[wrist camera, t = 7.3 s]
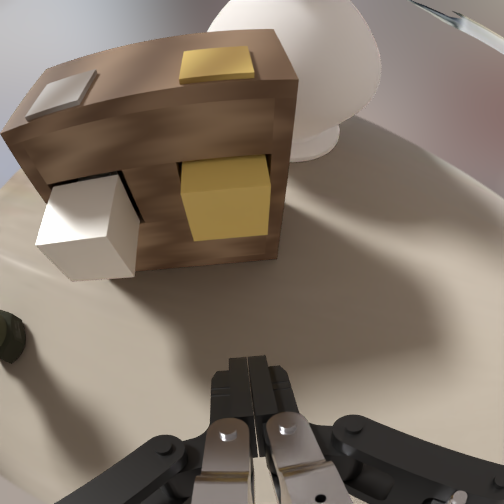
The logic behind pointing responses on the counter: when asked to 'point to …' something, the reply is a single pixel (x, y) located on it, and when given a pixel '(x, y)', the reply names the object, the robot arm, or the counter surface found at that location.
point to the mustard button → (226, 196)
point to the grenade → (11, 336)
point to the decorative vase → (316, 62)
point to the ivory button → (90, 229)
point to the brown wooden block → (164, 131)
